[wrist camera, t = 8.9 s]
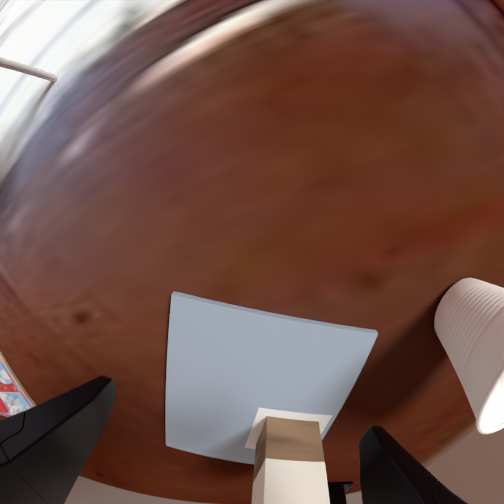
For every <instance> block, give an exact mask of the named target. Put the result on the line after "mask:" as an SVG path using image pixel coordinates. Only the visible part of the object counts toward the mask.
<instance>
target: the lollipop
mask: <svg viewBox="0 0 504 504" xmlns="http://www.w3.org/2000/svg"><path fill="white" fill-rule="evenodd" d="M0 67H4V68H7V69H11V70H15V71H19V72H22V73H26V74H29V75H33V76H36V77H40V78H43V79H46V80H49V81H52V82H55V81H56V80H57V78H58V76H57V75H54V74H51V73H49V72H46V71H43V70H40V69H37V68H34V67H30V66H27V65H24V64H21V63H17V62H14V61H11V60H7V59H3V58H0Z"/></svg>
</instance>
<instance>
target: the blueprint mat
mask: <svg viewBox="0 0 504 504" xmlns="http://www.w3.org/2000/svg"><path fill="white" fill-rule="evenodd" d="M377 335H378V333H377V331H376V330H371V329H364V328H357V327H351V326H344V325H338V324H332V323H325V322H320V321H314V320H308V319H302V318H297V317H291V316H286V315H281V314H275V313H270V312H265V311H260V310H255V309H250V308H246V307H241V306H236V305H231V304H227V303H222V302H218V301H213V300H209V299H205V298H200V297H196V296H192V295H188V294H184V293H180V292H175V291H174V292H173V293H172V296H171V307H170V319H169V333H168V349H167V369H166V411H165V428H166V446H169V447H172V448H176V449H180V450H183V451H187V452H191V453H195V454H199V455H204V456H208V457H213V458H218V459H223V460H229V461H234V462H241V463H247V464H255V451H256V443H257V441H258V438H259V436H260V433H261V431H262V428H263V426H264V423H265V421H266V418H267V416H270V417H277V418H285V419H294V420H304V421H317V422H319V427H320V434H321V440H322V439H323V438H324V436H325V435H326V433H327V431H328V430H329V428H330V426H331V425H332V423H333V421H334V420H335V418H336V416H337V415H338V413H339V411H340V409H341V408H342V406H343V404H344V402H345V401H346V399H347V397H348V395H349V393H350V391H351V390H352V388H353V386H354V384H355V382H356V380H357V378H358V376H359V374H360V372H361V370H362V368H363V366H364V364H365V362H366V360H367V358H368V355H369V353H370V351H371V349H372V347H373V344H374V342H375V340H376V338H377Z"/></svg>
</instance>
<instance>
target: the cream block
mask: <svg viewBox="0 0 504 504" xmlns="http://www.w3.org/2000/svg"><path fill="white" fill-rule="evenodd" d="M252 504H330V499H329V491H328V483H327V475H326V468H325V462H309V461H291V460H279V459H269V458H266V459H265V461H264V463H263V465H262V467H261V469H260V471H259V472H258V474H257V476H256V478H255V480H254V482H253V492H252Z"/></svg>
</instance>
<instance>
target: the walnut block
mask: <svg viewBox="0 0 504 504" xmlns="http://www.w3.org/2000/svg"><path fill="white" fill-rule="evenodd" d="M266 458H269V459H279V460H291V461H309V462H325V461H324V454H323V447H322V440H321V434H320V427H319V422H317V421H304V420H294V419H285V418H277V417H270V416H267V418H266V421H265V423H264V426H263V428H262V431H261V433H260V436H259V438H258V441H257V443H256V451H255V464H254V477H253V482H254V480H255V478H256V476H257V474H258V472H259V471H260V469H261V467H262V465H263V463H264V461H265V459H266Z"/></svg>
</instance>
